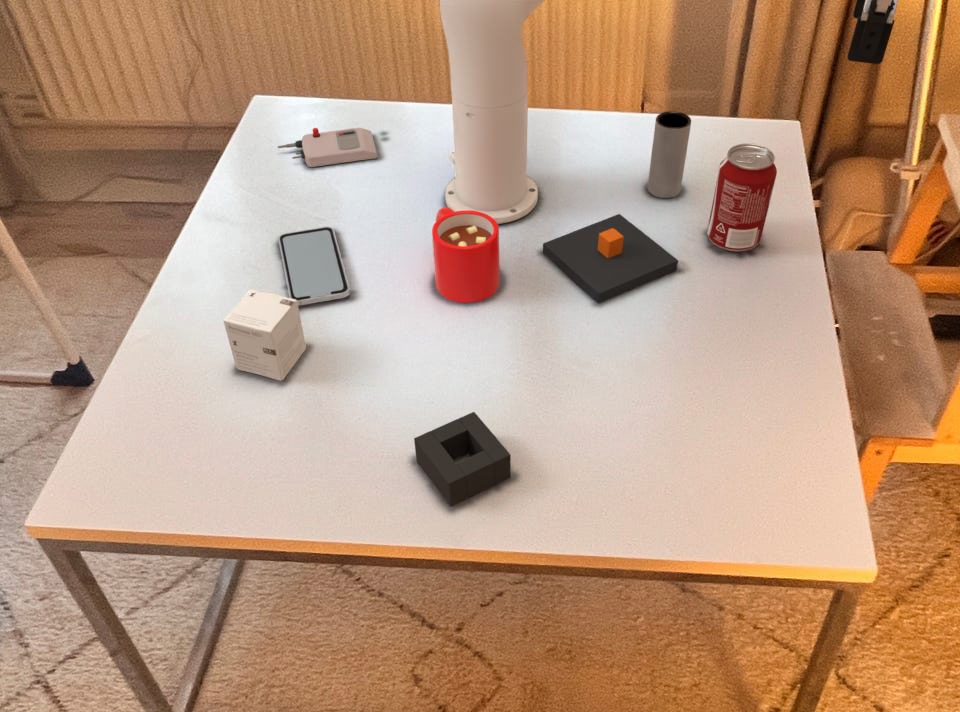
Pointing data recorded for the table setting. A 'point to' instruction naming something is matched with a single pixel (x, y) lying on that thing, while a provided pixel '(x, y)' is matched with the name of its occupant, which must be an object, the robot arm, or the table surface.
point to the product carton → (265, 334)
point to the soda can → (742, 197)
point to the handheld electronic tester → (335, 146)
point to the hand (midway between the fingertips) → (866, 39)
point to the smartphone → (313, 266)
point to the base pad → (609, 257)
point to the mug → (466, 255)
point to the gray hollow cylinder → (668, 154)
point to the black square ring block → (471, 473)
